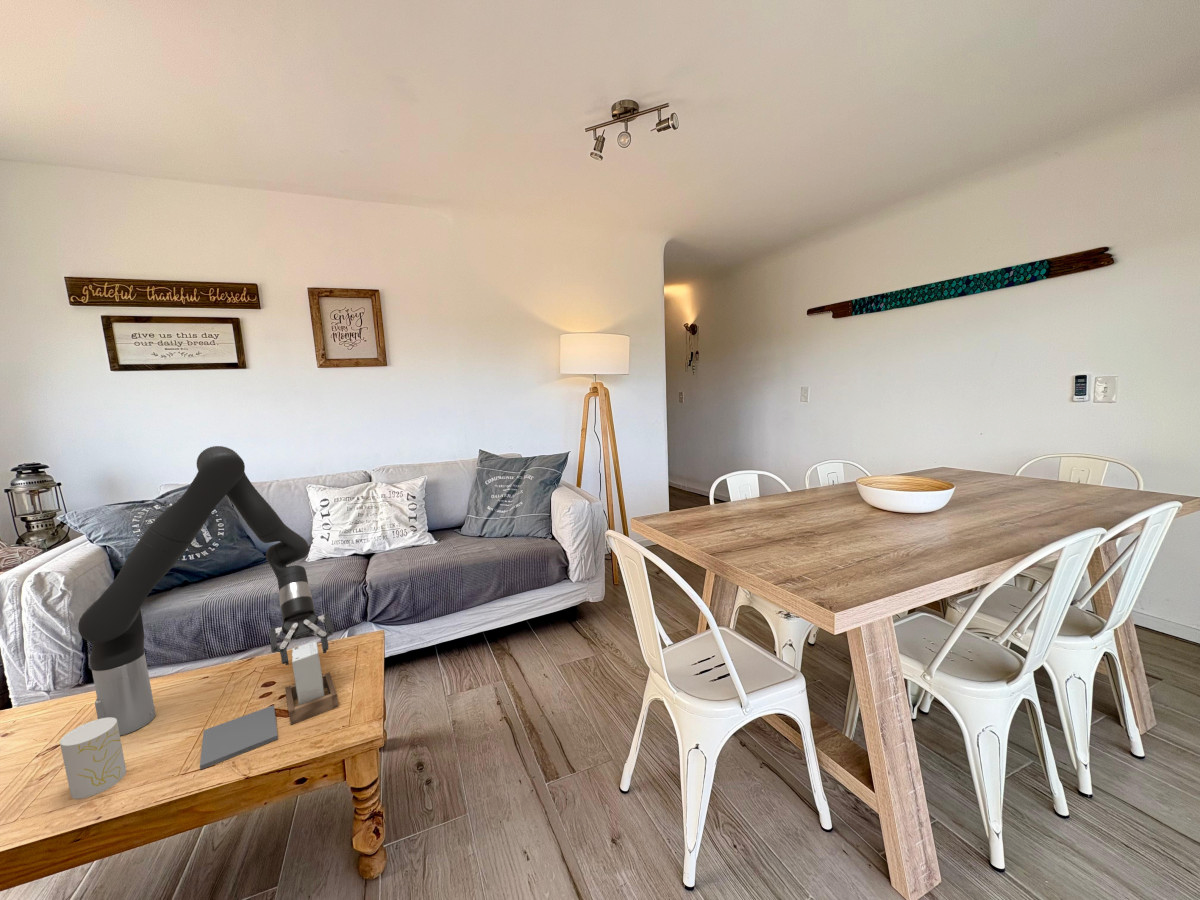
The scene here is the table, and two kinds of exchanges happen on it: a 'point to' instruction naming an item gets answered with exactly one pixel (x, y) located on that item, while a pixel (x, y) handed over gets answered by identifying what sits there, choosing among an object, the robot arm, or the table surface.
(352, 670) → the table surface
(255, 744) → the charcoal mat
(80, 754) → the grey patterned cylinder
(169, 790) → the table surface
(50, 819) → the table surface
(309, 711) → the walnut collar
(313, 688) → the skincare box
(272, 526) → the robot arm
